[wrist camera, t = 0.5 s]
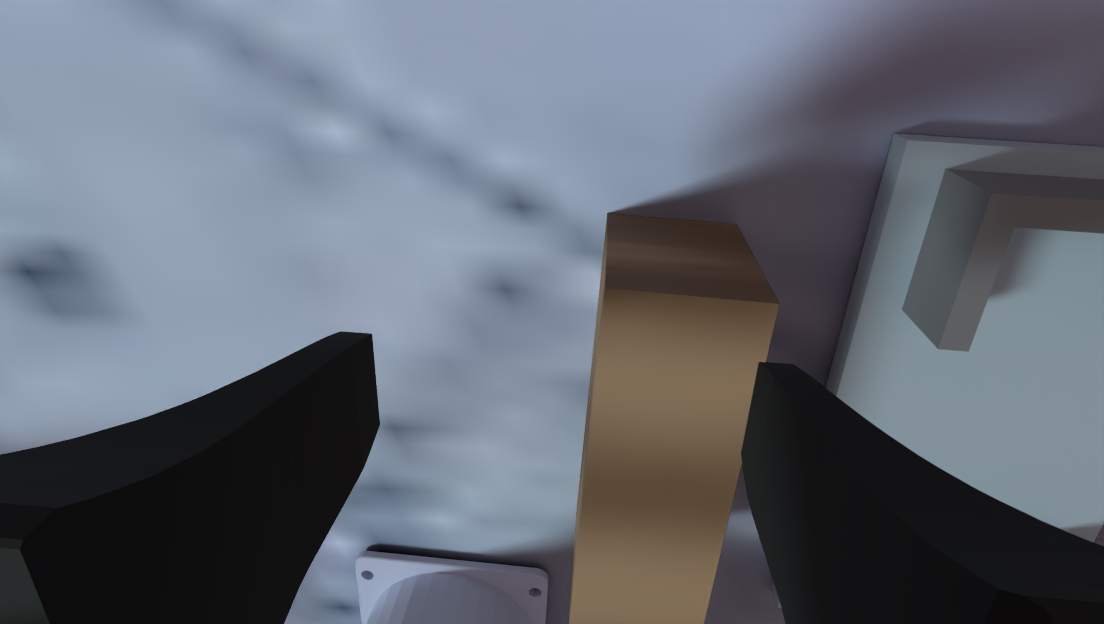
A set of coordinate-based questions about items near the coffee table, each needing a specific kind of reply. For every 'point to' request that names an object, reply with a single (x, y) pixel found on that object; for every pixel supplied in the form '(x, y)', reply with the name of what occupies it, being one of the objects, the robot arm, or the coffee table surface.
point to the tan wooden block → (665, 417)
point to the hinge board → (986, 320)
